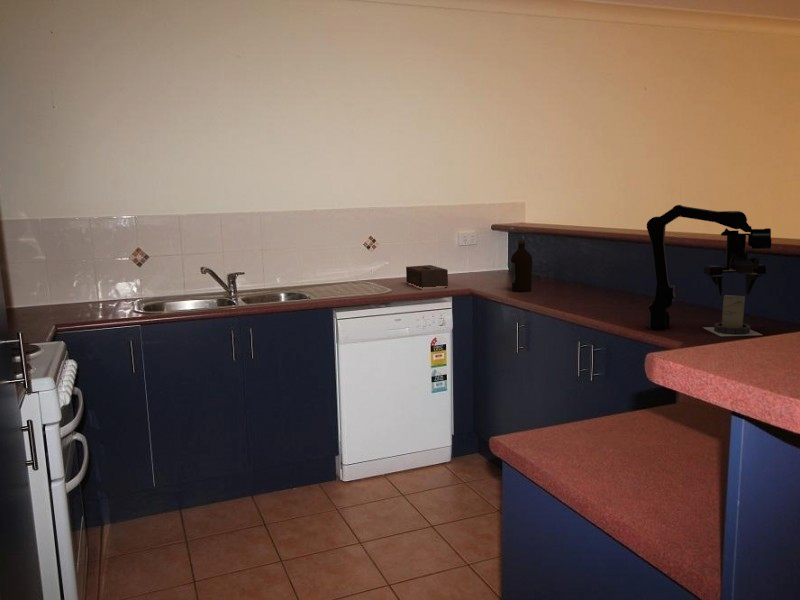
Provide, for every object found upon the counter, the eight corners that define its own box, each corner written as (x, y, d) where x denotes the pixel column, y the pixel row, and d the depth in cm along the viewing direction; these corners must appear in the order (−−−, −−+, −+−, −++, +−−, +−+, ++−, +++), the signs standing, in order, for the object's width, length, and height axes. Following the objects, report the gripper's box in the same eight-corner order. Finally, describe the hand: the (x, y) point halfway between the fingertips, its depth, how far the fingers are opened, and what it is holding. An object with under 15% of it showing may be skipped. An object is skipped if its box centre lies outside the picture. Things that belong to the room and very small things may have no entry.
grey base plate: (720, 337, 220) (720, 336, 220) (702, 328, 234) (702, 327, 234) (763, 336, 219) (763, 334, 219) (742, 327, 233) (742, 326, 233)
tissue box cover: (448, 288, 350) (447, 269, 349) (422, 290, 346) (421, 271, 344) (430, 282, 374) (430, 265, 373) (406, 284, 370) (406, 266, 368)
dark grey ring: (723, 335, 221) (723, 329, 221) (708, 328, 232) (709, 322, 232) (755, 334, 221) (756, 328, 221) (740, 327, 232) (740, 321, 231)
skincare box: (721, 331, 226) (722, 296, 224) (723, 329, 230) (724, 294, 228) (741, 333, 223) (743, 297, 221) (743, 330, 227) (745, 295, 225)
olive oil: (531, 288, 337) (530, 239, 333) (533, 292, 327) (533, 241, 323) (510, 289, 338) (509, 240, 334) (512, 292, 327) (511, 242, 323)
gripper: (718, 252, 214) (716, 299, 217) (777, 250, 214) (774, 297, 216) (703, 249, 225) (701, 294, 228) (759, 247, 225) (756, 292, 227)
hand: (733, 295), depth 224 cm, fingers open, 9 cm apart
